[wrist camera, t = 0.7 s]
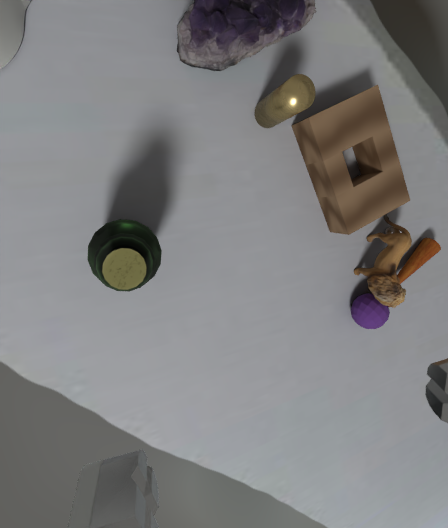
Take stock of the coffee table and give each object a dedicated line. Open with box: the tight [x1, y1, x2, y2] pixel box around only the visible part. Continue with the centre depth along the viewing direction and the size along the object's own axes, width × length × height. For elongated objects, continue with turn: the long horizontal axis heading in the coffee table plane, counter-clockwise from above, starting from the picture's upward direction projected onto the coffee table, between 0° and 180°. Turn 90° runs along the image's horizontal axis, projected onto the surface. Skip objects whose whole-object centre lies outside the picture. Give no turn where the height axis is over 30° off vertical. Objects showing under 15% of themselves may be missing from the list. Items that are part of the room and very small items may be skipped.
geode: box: [177, 0, 316, 71], centre depth 42 cm, size 20×12×10 cm, turn 126°
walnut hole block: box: [292, 85, 410, 235], centre depth 52 cm, size 18×12×5 cm, turn 26°
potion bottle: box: [88, 219, 161, 291], centre depth 38 cm, size 8×8×18 cm
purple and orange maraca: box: [351, 238, 441, 329], centre depth 58 cm, size 6×6×20 cm
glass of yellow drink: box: [255, 74, 315, 128], centre depth 44 cm, size 4×4×10 cm
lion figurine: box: [354, 214, 412, 308], centre depth 54 cm, size 15×5×9 cm, turn 166°
